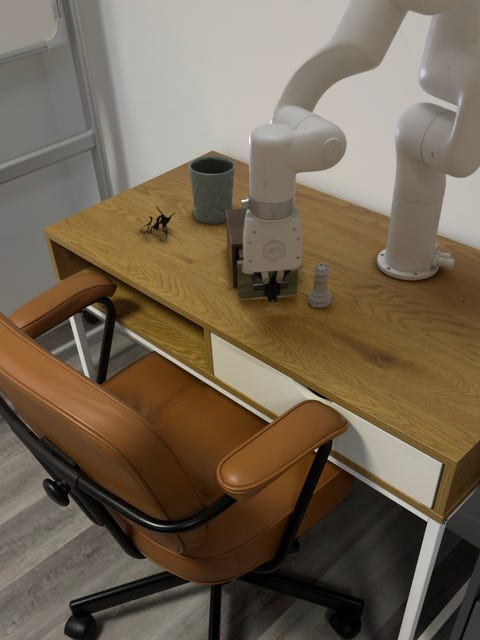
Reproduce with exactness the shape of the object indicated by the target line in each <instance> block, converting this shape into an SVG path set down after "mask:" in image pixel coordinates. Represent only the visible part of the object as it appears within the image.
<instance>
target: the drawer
mask: <svg viewBox="0 0 480 640" xmlns="http://www.w3.org/2000/svg"><path fill="white" fill-rule="evenodd" d="M243 260H244V257H243V247H238V248H236V264H237V277H238V287H237V298H238V300H245V299H246V300H247V299H260V298H267V296H264V294H263V281H262V280H261V279H260V278H258V277H257V276H256V275H255V274H246V273H243V272H242V264H243ZM268 274H270V277H271V276H272V275H273V274H274V271H269V272H268ZM298 275H299V270H295V271H290V273H289V274H287V275H286V276H285V277H284V278H283V281H282V282H281V287H280V295H277V297H287V296H297V295H298Z"/></svg>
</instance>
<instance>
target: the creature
mask: <svg viewBox="0 0 480 640" xmlns="http://www.w3.org/2000/svg"><path fill="white" fill-rule="evenodd" d="M155 208H156V209H157V211H158V212H159V215H158V216H157V217H156V218H154V217H153V216H151V215H150V216H148V218H149V219H150V221H149V222H148V223H146V224H144V225H143V226H142V227H141V229H140V233H141V234H143V238H145V239H147V237H148V235H149V234H152V233H153V230H156V231H158V230H159V229H160V225H161V229H162V231H163V232H164V234H163V236H164V235H165V236H166V237H165V238H164V239H163V240H161V239H162V238H161V235H159V242H165V241H166V240H167V239H168V228H167V227H168V226H167V225H168V223H169V222H170V221H171V219H172V217H173V216H174V215H175V214H176V212H174V213H172V214H170V215H169V216H168V217H167V216H166V215H165V214H164V213H163V212H162V211H161V210H160V209H159V207H158V205H155ZM153 219H154V220H155V222H153ZM152 223H153V225H152ZM146 226H147V229H146V231H144V232H143V231H142V230H143V228H144V227H146ZM150 226H151V227H150Z"/></svg>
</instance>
